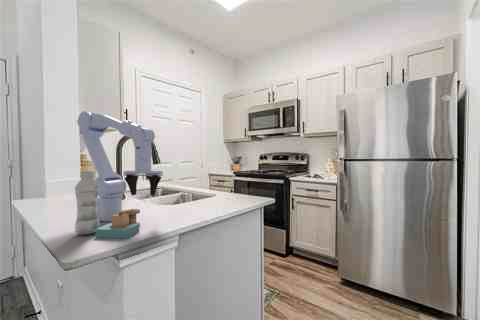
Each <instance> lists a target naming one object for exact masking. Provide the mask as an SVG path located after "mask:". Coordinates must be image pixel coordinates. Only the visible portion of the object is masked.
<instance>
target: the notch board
mask: <svg viewBox="0 0 480 320" xmlns="http://www.w3.org/2000/svg"><path fill="white" fill-rule="evenodd" d="M138 232H140V227H139V224H134V223H132V224H130V225H128V226H126V227H124V228H112V222H109V223H107V224H105V225H102V226H99V228H97V229H96V232H95V238H103V239H105V238H106V239H128V238H130V237H132V236H133V235H135V234H137V233H138Z"/></svg>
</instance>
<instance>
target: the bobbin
mask: <svg viewBox="0 0 480 320" xmlns="http://www.w3.org/2000/svg"><path fill="white" fill-rule="evenodd" d="M120 212H123V213H127V214H129V225H130V224H132V223H134V224H139V228H140V226H141V223H140V222H137V215H138V214H140V213H141V209H139V208H129V209H128V208H127V209H124V210H123V209H122V211H120Z"/></svg>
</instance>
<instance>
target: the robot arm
mask: <svg viewBox="0 0 480 320" xmlns="http://www.w3.org/2000/svg"><path fill="white" fill-rule="evenodd" d="M76 123H77V125H78V128H79V131H80V132H81V135H82V139H83V143H84V144H85V147H86V149H87V152H88V154H89V156H90V159H91V162H92V163H93V165H94V168H95V170H96V172H97V175H98V176H97V177H96V178H95V179H94V180H95V181H96V183H97V184H98V186H99V193H98V201H97V211H98V218H99V222H112V216H113V215H116V214H118V213H119V212H120V211H122V210H123V209H122V208H123V205H122V204H123V200H122V199H123V198H122V197H123V196H124V193H125V192H126V191H127V186H128V188H129V191H130V194H131V196H136V195H137V185H138V179H139V177H148V181H149V186H150V188H149V189H150V191H149V192H150V194H149V195H150V196H151V197H153V196H156V192H157V187H158V185H159V182H160V181H161V179H162V177H164V176H163V175H164V174H163V171H164V170H152V143H153V141H154V140H155V136H156V135H155V132H154V131H153V129H152V128H149V127H147V128H145V127H143V125H142V124H136V123H134V121H133V120H130V119H128V120H123V121H120V120H119V119H116V118H114V117H111V116H109V115H105V114H99V113H94V112H89V111H85V110H84V111H81V112H80V113H79V115H78V118H77V121H76ZM109 128H113V129H115V130H117V131H118V132H119V134H120V135H122V136H125V137H126V138H129V139H131V140H132V141H133V146H134V170H123V177H124V179H123V178H122V177H121V175H120V174H118V173H117V172H115V171H114V169H113V167H112V165H111V162H110V160H109V157H108V155H107V154H106V150H105V149H104V146H103V144H102V142H101V141H102V140H101V138H102V137H103V136H105V133H106V131H107V130H108V129H109Z"/></svg>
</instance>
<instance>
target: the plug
mask: <svg viewBox="0 0 480 320" xmlns="http://www.w3.org/2000/svg"><path fill="white" fill-rule="evenodd" d="M111 223H112V228H124V227H126V226H128V225H129V214H127V213H123V212H119V213H118V214H116V215H113V216H112V221H111Z"/></svg>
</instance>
